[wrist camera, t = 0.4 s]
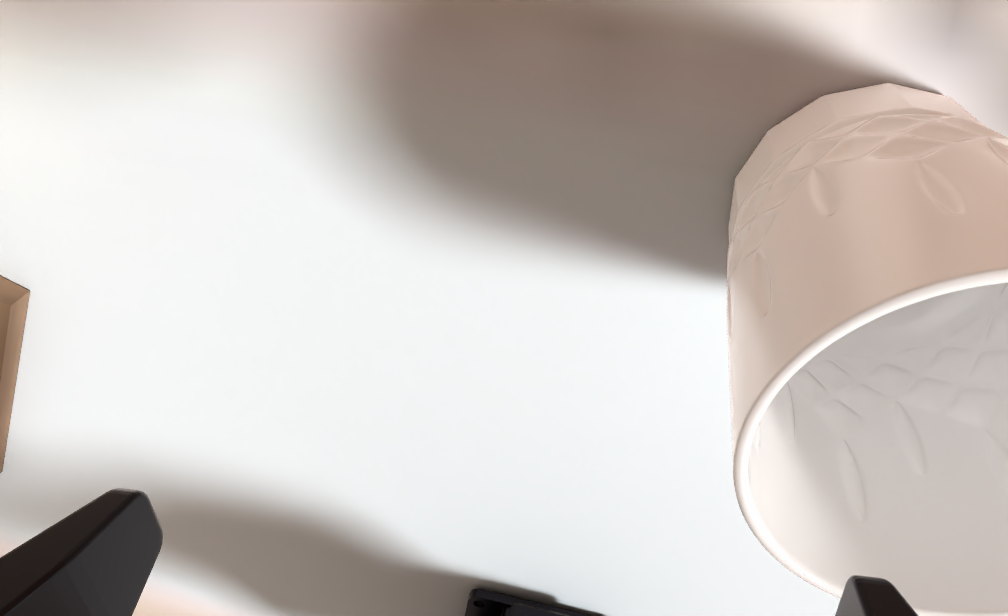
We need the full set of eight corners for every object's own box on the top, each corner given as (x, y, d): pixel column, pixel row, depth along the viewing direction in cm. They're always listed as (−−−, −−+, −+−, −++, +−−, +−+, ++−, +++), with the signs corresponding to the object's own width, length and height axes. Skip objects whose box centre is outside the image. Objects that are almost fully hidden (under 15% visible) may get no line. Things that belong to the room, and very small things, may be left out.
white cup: (970, 331, 22) (1153, 648, 14) (693, 315, 23) (710, 595, 15) (1073, 57, 17) (1433, 283, 9) (723, 57, 19) (770, 253, 11)
